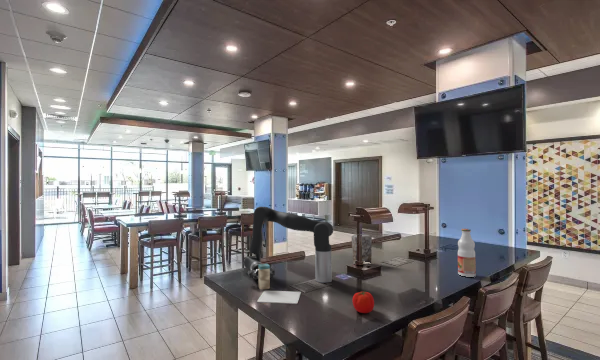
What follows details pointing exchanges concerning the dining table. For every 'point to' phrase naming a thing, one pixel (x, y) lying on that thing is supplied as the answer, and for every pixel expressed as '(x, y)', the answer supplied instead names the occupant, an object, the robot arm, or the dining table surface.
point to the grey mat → (279, 297)
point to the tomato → (363, 302)
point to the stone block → (365, 248)
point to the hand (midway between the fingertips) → (264, 276)
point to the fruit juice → (466, 255)
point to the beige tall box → (263, 276)
